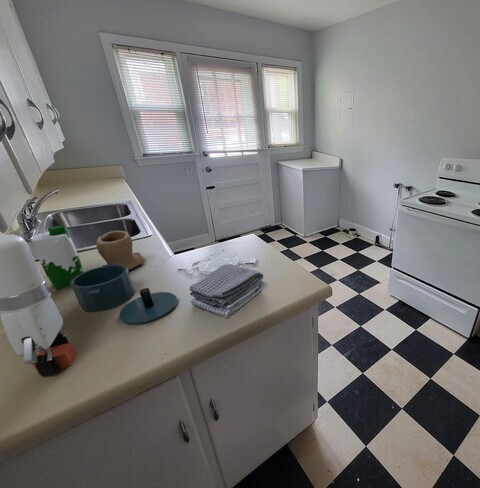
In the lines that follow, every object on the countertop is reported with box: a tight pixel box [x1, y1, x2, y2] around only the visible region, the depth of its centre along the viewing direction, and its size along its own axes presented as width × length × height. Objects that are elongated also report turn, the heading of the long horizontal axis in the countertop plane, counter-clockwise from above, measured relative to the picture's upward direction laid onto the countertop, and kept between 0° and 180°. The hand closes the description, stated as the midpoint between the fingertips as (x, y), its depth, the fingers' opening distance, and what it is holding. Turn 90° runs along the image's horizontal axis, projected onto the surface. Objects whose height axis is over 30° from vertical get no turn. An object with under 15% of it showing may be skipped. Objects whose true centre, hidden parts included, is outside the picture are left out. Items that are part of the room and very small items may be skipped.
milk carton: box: [31, 224, 84, 291], centre depth 90 cm, size 9×9×20 cm
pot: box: [70, 263, 136, 313], centre depth 83 cm, size 14×19×8 cm
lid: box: [118, 287, 178, 325], centre depth 79 cm, size 15×15×7 cm
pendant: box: [181, 250, 257, 276], centre depth 105 cm, size 21×28×1 cm
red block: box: [33, 341, 77, 376], centre depth 61 cm, size 6×4×4 cm
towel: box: [189, 264, 265, 319], centre depth 84 cm, size 15×18×8 cm
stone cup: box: [95, 230, 147, 271], centre depth 100 cm, size 15×12×15 cm
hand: (57, 361), depth 61 cm, fingers open, 6 cm apart
